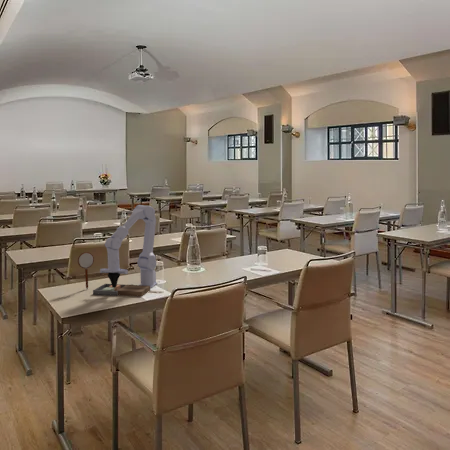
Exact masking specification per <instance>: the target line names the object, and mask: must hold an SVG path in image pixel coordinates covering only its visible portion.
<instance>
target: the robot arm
mask: <svg viewBox="0 0 450 450" xmlns="http://www.w3.org/2000/svg"><path fill="white" fill-rule="evenodd" d="M138 220H143V222H144V223H145V225H144V226H145V227H144V235H143V244H142V252H140V253H139V257H138V259H137V267H138V268H139V270H140V271H139V272H140V275H139V276H140V284H139V285H144V286H150V288H153V287H155V286H156V285H158V282H157V272H156V270H155V268H156V267H157V259H156V255H155V254H154V244H155V243H154V242H155V234H156V225H157V218H156V210H155V208H154V207H153V206H151V205H142V204H138V205H136V206H135V208H133V209H132V213H131V214H130V216H128V219H127V220H126V221H125V222H124V223H123V225H120V226H118V227H117V228H116V230H115V231H114V233H113V234H111V236H110V237H108V238H106V240H105V243H104V246H105V248H106V252H107V268H99V273H100V274H102V273H104V274H107V277H108V279H109V281H110V284H112V287H114V288H115V287H116V286H117V284H118V281H119V278H120V276H121V275H128V274H129V270H128V269H126V268H125V269H124V268H121V267H120V248H121V246H122V243H123V240H125V238H126V237H127V236H129V235H128V234H129V230H130V229H131V228H132V227H133V226H134V224H136V222H137V221H138Z"/></svg>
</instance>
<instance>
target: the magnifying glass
mask: <svg viewBox="0 0 450 450" xmlns="http://www.w3.org/2000/svg"><path fill="white" fill-rule="evenodd" d="M94 261H95V257H94V255H93V254H92V253H90V252H89V251H88V252H87V251H85V252H83V253H81V254H80V255H79V256H78V258H77V264H78V266H79V267H80V268H82V269H84V273H85V275H84V276H85V288H86V290H89V289H88V288H89V275H88V274H89V273H88V268H91V267H92V266H93V264H94Z"/></svg>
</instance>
